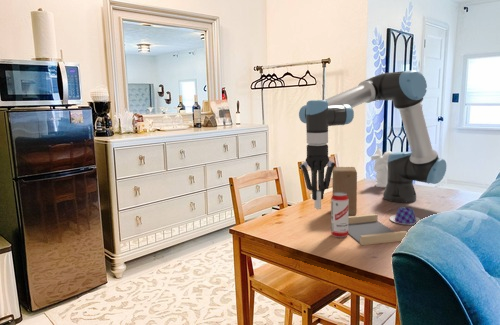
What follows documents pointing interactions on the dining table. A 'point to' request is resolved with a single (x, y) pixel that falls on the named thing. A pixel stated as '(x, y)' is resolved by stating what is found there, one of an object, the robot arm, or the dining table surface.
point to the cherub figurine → (381, 167)
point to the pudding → (405, 216)
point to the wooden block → (346, 185)
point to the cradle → (371, 230)
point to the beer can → (339, 214)
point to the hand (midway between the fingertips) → (317, 208)
